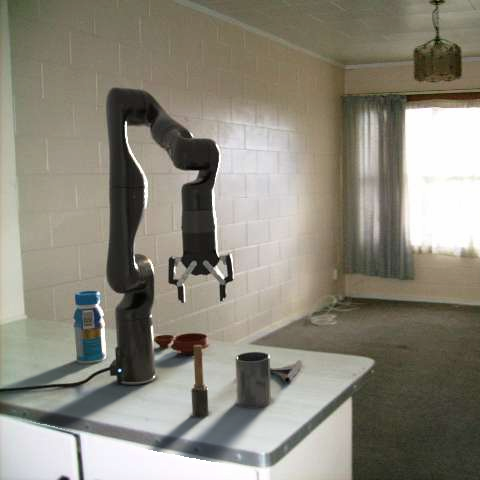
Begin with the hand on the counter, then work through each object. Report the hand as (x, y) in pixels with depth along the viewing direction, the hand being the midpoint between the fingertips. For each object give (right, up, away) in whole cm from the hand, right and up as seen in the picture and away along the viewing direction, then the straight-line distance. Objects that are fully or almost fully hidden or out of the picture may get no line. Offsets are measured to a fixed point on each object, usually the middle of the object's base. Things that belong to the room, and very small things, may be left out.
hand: (202, 301), depth 142 cm
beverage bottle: (-41, -22, +44) cm, 64 cm away
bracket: (+13, -22, +29) cm, 39 cm away
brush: (-1, -26, +2) cm, 26 cm away
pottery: (-16, -20, +52) cm, 58 cm away
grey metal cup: (+11, -25, +9) cm, 28 cm away
